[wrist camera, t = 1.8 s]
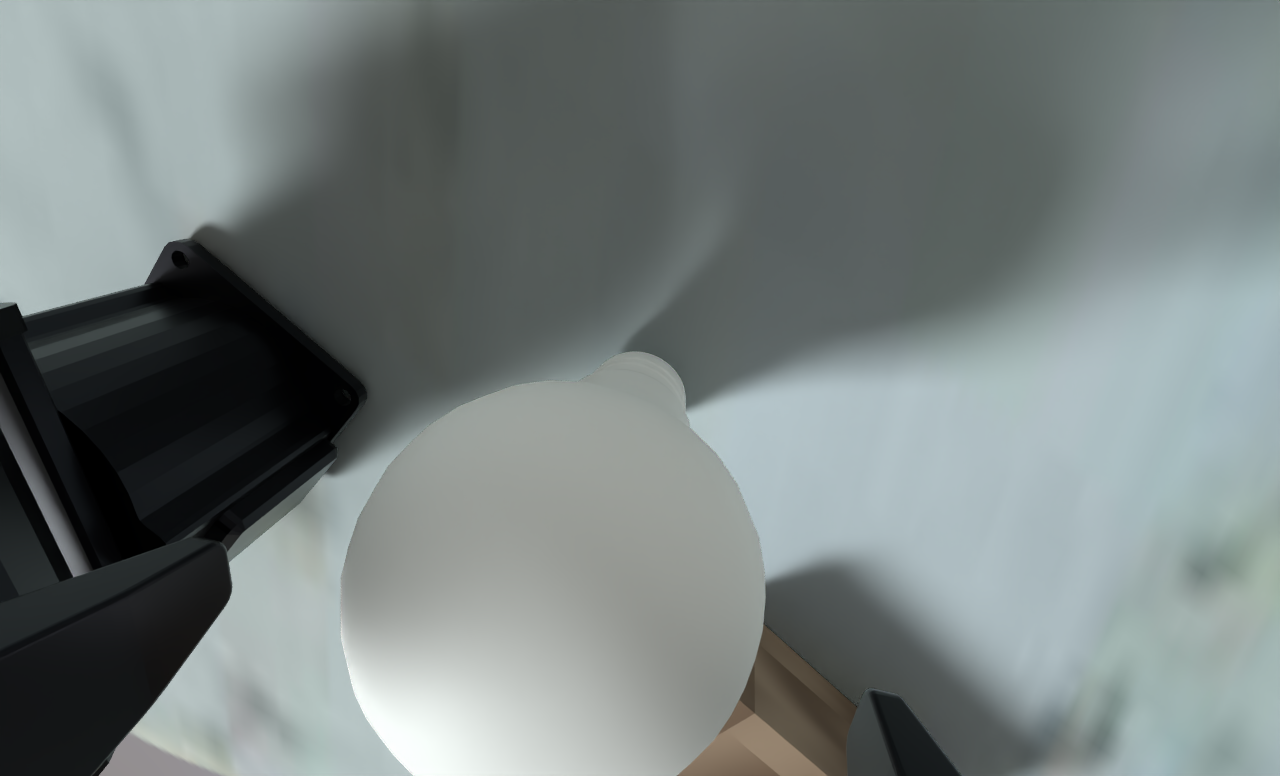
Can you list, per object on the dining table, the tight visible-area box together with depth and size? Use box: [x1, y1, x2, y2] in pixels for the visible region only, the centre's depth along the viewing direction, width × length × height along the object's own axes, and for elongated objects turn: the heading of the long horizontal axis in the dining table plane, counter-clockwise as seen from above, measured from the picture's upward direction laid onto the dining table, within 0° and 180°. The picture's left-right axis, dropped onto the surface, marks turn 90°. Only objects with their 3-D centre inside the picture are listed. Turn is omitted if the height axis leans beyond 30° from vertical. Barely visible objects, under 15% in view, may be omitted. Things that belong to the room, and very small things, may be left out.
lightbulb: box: [341, 351, 766, 776], centre depth 12 cm, size 6×6×11 cm
